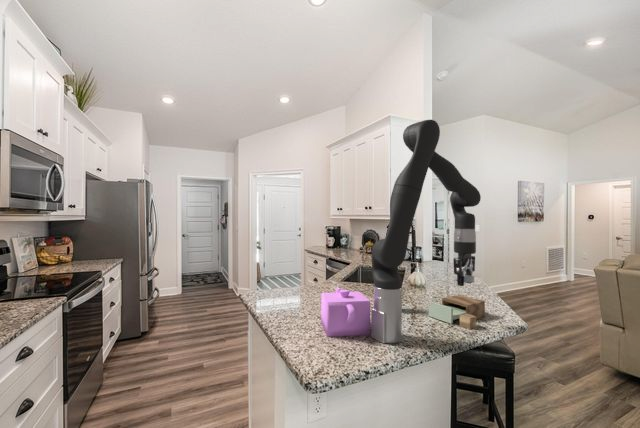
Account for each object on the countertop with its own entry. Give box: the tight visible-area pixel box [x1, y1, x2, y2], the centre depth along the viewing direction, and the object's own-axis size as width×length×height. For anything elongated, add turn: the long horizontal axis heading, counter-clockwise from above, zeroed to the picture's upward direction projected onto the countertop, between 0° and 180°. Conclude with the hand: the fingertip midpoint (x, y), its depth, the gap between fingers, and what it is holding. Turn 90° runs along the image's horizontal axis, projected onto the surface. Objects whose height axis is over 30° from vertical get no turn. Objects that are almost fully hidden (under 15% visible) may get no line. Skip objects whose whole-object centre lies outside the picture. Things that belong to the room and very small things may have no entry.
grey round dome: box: [454, 273, 475, 284], centre depth 110 cm, size 6×6×2 cm
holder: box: [441, 294, 486, 320], centre depth 122 cm, size 12×12×6 cm
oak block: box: [459, 314, 477, 330], centre depth 108 cm, size 4×4×4 cm
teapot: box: [320, 286, 371, 338], centre depth 106 cm, size 15×25×14 cm, turn 9°
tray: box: [428, 301, 466, 325], centre depth 117 cm, size 12×10×6 cm
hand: (464, 284), depth 110 cm, fingers closed on grey round dome, 6 cm apart
